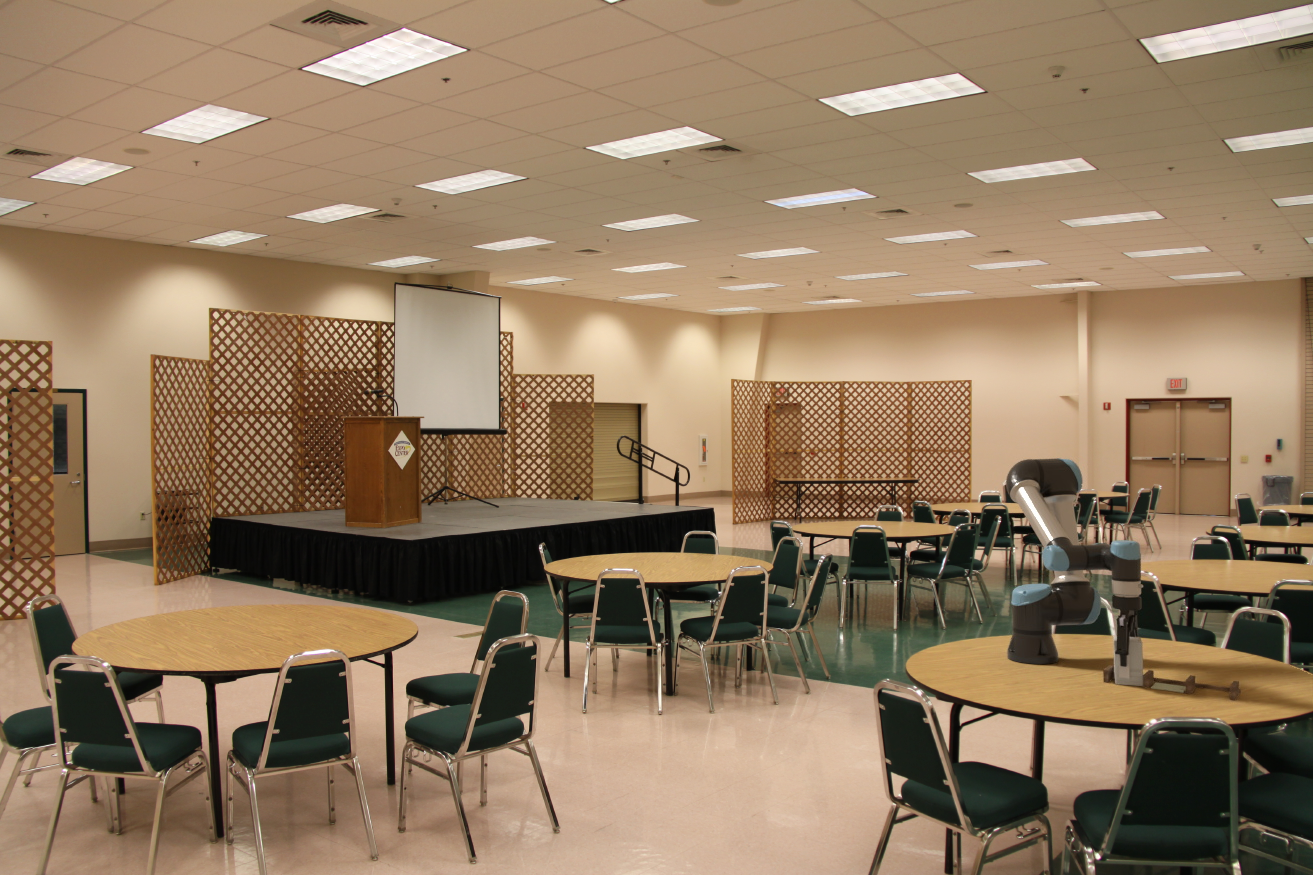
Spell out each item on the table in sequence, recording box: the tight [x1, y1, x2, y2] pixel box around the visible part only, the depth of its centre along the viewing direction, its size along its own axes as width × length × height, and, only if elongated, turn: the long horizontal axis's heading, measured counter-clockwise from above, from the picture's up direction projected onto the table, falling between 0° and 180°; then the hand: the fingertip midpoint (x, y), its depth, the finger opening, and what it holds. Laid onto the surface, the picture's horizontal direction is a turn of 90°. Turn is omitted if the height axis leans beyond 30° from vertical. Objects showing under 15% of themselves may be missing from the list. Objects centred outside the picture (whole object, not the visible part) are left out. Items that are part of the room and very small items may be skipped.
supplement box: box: [1112, 635, 1144, 687], centre depth 266 cm, size 7×7×13 cm
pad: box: [1150, 682, 1186, 694], centre depth 259 cm, size 8×6×1 cm
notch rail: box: [1102, 664, 1242, 701], centre depth 260 cm, size 32×10×4 cm, turn 51°
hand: (1128, 674), depth 266 cm, fingers closed on supplement box, 8 cm apart
